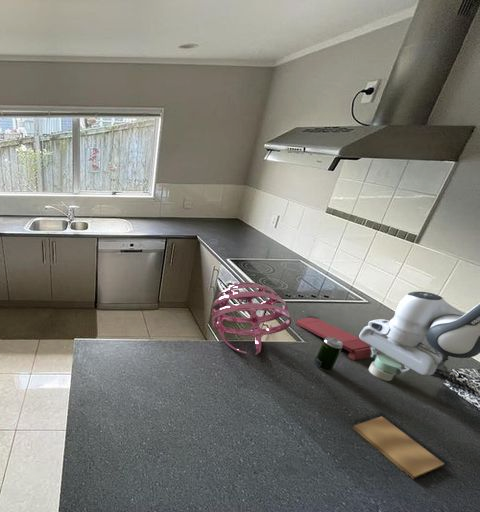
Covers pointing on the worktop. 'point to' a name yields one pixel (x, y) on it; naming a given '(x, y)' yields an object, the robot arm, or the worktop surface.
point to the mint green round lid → (387, 364)
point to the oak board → (398, 447)
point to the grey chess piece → (441, 366)
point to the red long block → (337, 337)
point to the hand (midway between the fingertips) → (386, 365)
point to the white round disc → (380, 373)
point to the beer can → (328, 353)
